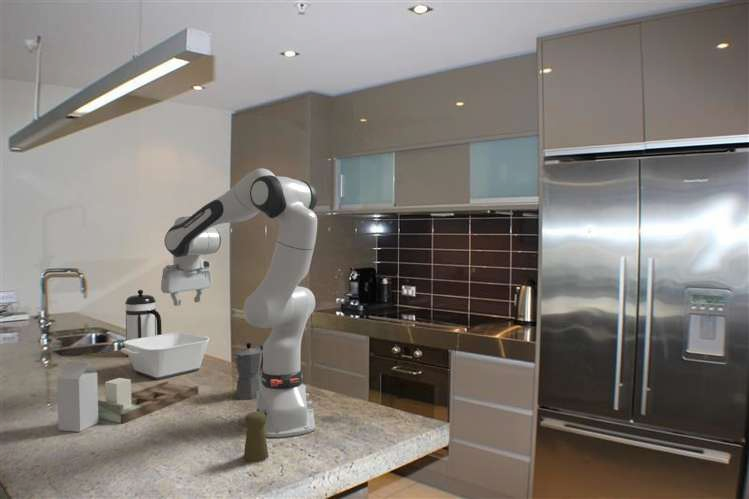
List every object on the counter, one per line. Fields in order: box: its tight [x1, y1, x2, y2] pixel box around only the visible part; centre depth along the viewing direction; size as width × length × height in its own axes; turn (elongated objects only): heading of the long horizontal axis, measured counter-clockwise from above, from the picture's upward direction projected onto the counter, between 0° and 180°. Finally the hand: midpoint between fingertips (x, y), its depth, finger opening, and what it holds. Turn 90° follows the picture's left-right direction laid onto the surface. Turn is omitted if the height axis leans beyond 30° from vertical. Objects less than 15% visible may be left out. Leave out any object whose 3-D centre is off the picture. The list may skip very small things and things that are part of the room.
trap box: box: [98, 381, 199, 424], centre depth 165 cm, size 30×15×5 cm, turn 155°
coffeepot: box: [234, 342, 263, 400], centre depth 174 cm, size 15×9×18 cm, turn 157°
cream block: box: [104, 377, 132, 410], centre depth 155 cm, size 5×5×8 cm
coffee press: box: [123, 289, 162, 357], centre depth 234 cm, size 17×16×30 cm
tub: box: [120, 332, 210, 381], centre depth 204 cm, size 34×27×13 cm
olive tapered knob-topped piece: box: [243, 411, 269, 463], centre depth 125 cm, size 6×6×11 cm
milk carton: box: [56, 360, 99, 433], centre depth 146 cm, size 7×7×19 cm
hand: (187, 303), depth 176 cm, fingers open, 8 cm apart
